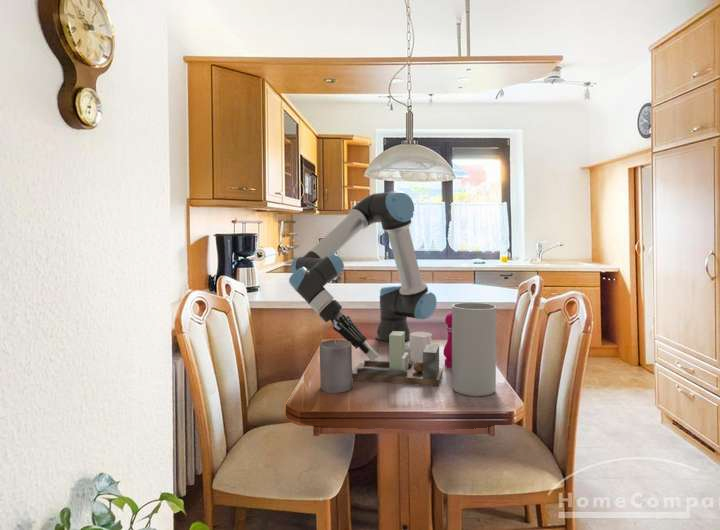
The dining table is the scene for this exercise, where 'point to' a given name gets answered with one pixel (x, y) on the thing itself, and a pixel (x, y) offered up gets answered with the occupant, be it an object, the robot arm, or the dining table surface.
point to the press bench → (415, 374)
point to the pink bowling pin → (448, 341)
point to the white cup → (418, 344)
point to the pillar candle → (336, 366)
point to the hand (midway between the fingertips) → (375, 358)
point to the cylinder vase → (474, 348)
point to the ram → (397, 351)
